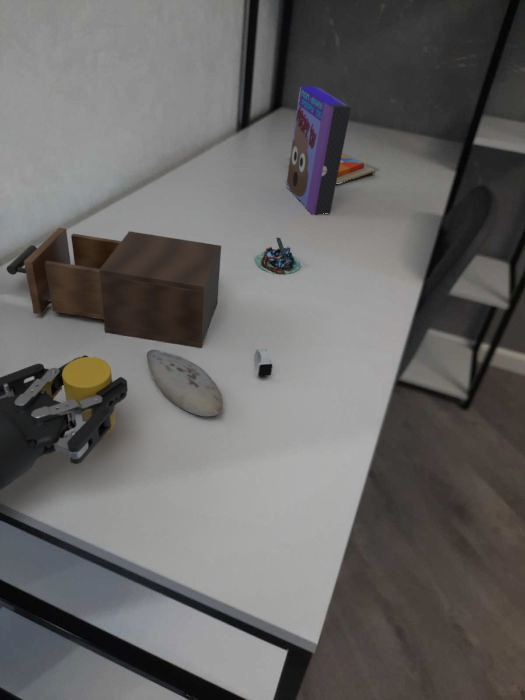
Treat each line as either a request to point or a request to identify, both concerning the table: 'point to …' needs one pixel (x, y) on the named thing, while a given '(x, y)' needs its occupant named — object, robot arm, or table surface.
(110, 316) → the cabinet
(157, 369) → the decorative stone
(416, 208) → the table surface
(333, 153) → the cereal box
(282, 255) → the dish
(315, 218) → the table surface
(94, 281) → the drawer
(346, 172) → the wooden puzzle
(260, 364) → the smartwatch
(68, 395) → the tape canister
